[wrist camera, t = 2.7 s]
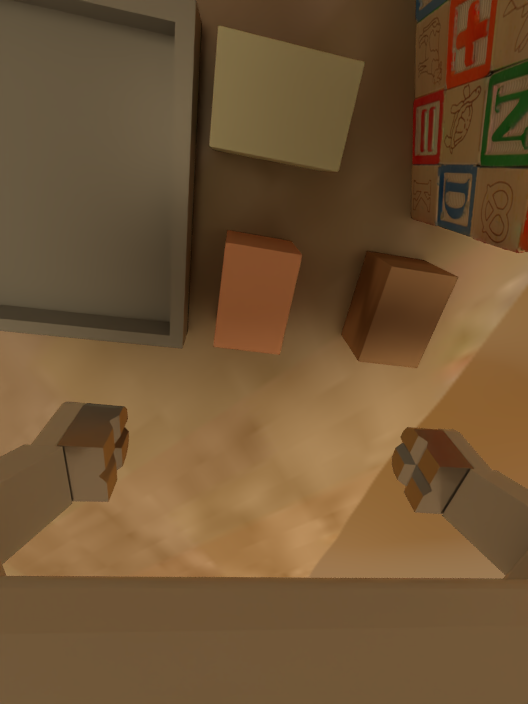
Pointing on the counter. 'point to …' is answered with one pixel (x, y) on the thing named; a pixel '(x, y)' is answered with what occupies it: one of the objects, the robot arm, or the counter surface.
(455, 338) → the counter surface
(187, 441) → the counter surface
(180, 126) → the charcoal tray
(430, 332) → the walnut brick
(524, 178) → the stack of blocks
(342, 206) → the counter surface
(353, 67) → the sage brick
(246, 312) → the terracotta brick
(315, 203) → the counter surface
